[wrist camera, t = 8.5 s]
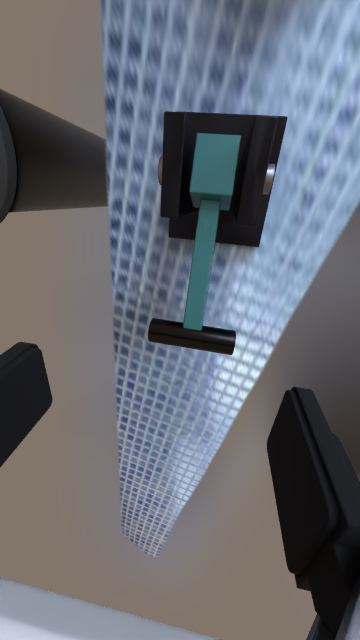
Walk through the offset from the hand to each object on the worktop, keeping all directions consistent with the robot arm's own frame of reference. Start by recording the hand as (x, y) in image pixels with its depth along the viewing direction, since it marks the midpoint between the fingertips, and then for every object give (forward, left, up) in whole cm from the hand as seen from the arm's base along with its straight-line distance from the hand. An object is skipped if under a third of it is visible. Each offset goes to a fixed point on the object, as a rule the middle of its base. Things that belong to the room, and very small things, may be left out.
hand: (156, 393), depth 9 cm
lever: (-3, +3, -8) cm, 9 cm away
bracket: (-6, +5, -20) cm, 21 cm away
